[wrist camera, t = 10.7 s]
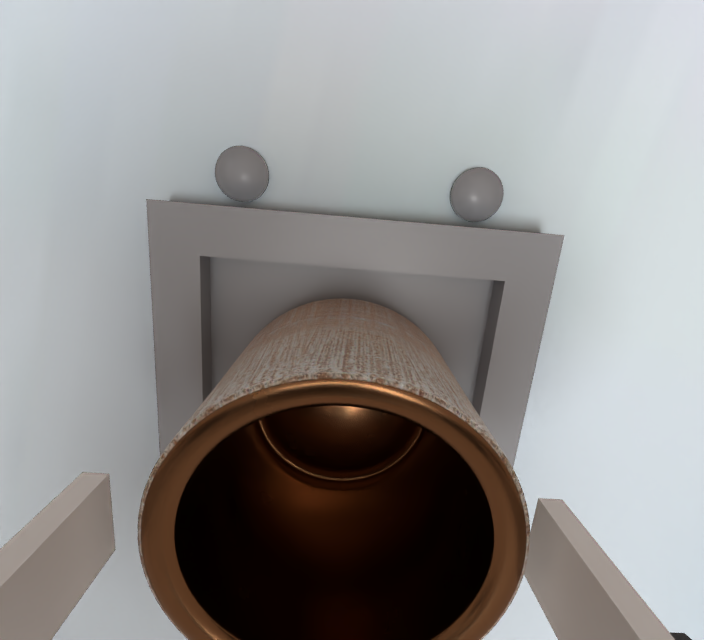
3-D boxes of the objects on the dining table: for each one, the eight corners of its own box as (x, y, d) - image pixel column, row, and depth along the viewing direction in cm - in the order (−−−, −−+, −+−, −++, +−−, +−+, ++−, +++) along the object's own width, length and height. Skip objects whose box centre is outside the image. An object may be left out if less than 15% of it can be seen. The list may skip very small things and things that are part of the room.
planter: (282, 258, 18) (204, 297, 8) (484, 346, 19) (616, 467, 9) (209, 445, 20) (87, 636, 11) (392, 512, 21) (424, 739, 12)
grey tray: (181, 516, 22) (164, 545, 20) (166, 140, 17) (142, 129, 15) (479, 536, 23) (491, 565, 21) (553, 175, 17) (578, 169, 15)
